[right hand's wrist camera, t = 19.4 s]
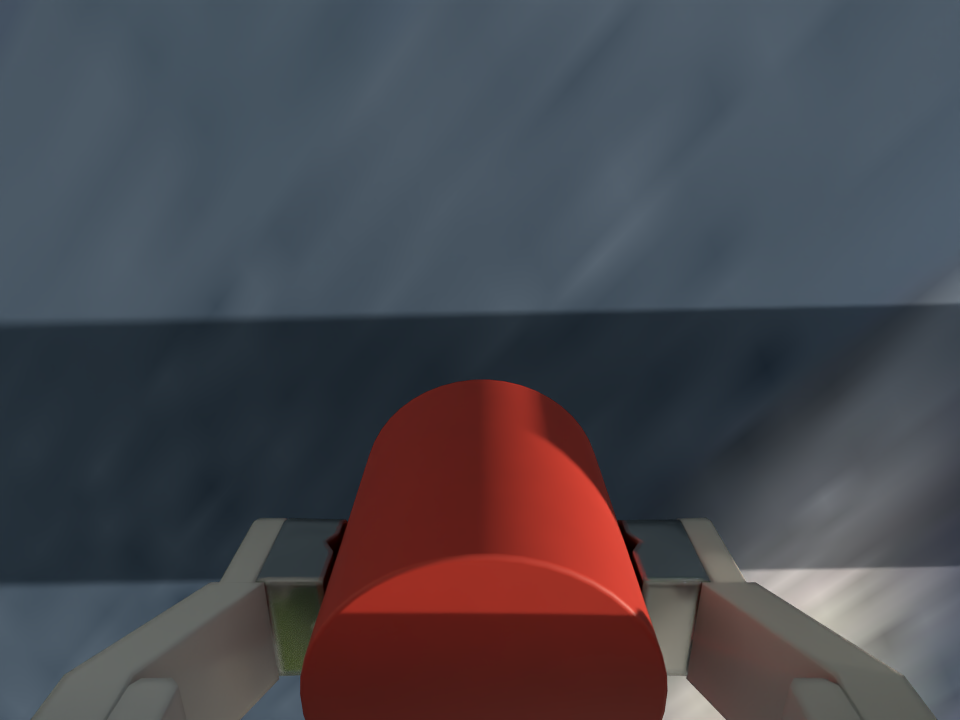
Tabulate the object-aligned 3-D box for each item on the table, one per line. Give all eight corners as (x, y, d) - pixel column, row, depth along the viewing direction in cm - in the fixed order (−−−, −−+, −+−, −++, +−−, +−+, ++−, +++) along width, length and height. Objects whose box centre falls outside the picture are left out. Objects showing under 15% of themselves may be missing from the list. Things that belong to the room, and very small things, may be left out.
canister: (423, 339, 11) (383, 497, 7) (640, 436, 12) (743, 640, 7) (332, 528, 13) (249, 765, 8) (531, 604, 14) (559, 861, 9)
